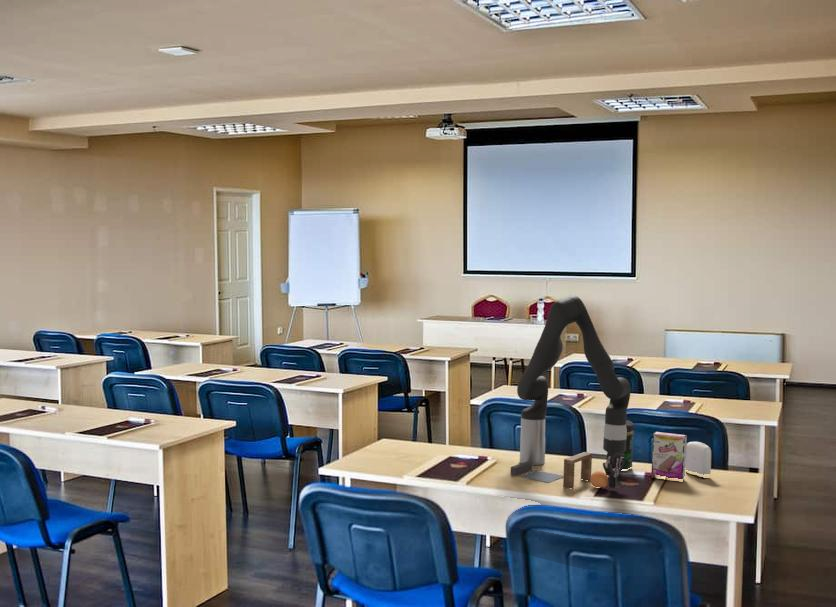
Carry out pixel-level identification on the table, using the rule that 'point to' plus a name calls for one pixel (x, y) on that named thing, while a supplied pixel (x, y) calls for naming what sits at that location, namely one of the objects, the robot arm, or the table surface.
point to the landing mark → (541, 476)
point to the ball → (599, 479)
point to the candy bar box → (669, 455)
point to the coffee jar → (628, 445)
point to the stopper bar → (521, 468)
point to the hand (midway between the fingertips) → (612, 487)
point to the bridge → (569, 468)
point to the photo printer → (698, 458)
